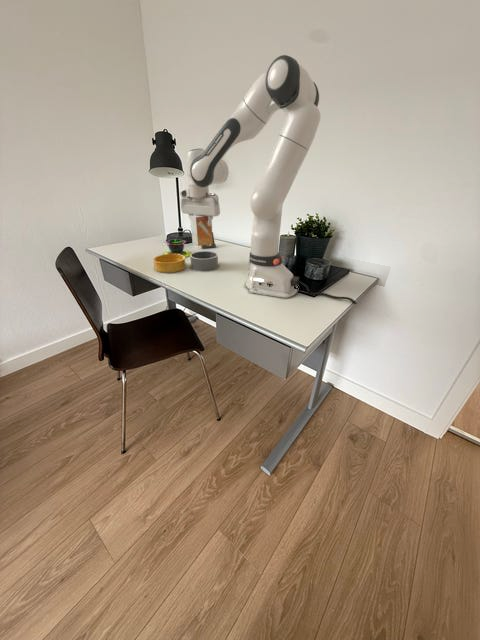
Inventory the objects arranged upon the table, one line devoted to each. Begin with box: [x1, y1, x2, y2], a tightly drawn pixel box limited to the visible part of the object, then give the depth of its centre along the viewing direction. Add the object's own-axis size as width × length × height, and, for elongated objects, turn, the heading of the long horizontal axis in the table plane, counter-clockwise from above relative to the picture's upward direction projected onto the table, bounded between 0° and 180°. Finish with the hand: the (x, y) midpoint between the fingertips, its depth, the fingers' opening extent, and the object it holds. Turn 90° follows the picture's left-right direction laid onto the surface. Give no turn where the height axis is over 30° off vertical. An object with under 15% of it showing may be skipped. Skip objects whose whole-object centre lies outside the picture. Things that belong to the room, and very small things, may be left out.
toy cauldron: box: [164, 234, 191, 258], centre depth 150 cm, size 15×15×11 cm
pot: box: [189, 250, 219, 272], centre depth 133 cm, size 14×14×6 cm
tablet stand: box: [200, 231, 217, 249], centre depth 166 cm, size 9×8×8 cm
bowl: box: [152, 253, 187, 274], centre depth 131 cm, size 15×15×5 cm
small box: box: [189, 214, 213, 247], centre depth 126 cm, size 8×6×13 cm
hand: (201, 224), depth 125 cm, fingers closed on small box, 7 cm apart
